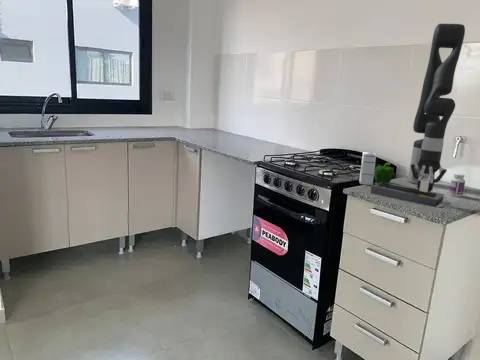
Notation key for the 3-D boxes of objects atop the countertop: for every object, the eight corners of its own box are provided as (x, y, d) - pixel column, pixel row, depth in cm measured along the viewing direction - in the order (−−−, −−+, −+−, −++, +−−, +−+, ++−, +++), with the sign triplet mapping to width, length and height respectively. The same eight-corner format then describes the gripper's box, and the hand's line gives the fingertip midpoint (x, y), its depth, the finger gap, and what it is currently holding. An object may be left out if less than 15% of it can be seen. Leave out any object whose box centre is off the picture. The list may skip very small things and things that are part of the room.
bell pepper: (369, 181, 189) (372, 160, 187) (382, 180, 193) (385, 160, 190) (381, 185, 182) (385, 164, 179) (395, 184, 185) (398, 163, 183)
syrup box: (372, 185, 181) (377, 154, 177) (359, 184, 182) (363, 153, 178) (371, 182, 186) (375, 152, 183) (358, 181, 187) (362, 151, 184)
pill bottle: (460, 194, 174) (465, 173, 171) (463, 197, 169) (467, 176, 166) (447, 193, 175) (451, 172, 173) (449, 196, 170) (453, 174, 168)
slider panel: (380, 187, 177) (381, 180, 176) (442, 201, 162) (444, 192, 161) (370, 192, 168) (371, 184, 167) (435, 207, 152) (437, 198, 152)
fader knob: (421, 191, 162) (423, 178, 161) (429, 192, 161) (431, 179, 159) (418, 192, 159) (421, 180, 158) (426, 194, 158) (428, 181, 156)
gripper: (453, 150, 154) (445, 192, 158) (416, 145, 163) (409, 185, 167) (449, 152, 148) (440, 196, 153) (410, 147, 157) (403, 188, 161)
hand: (424, 190), depth 160 cm, fingers closed on fader knob, 3 cm apart
